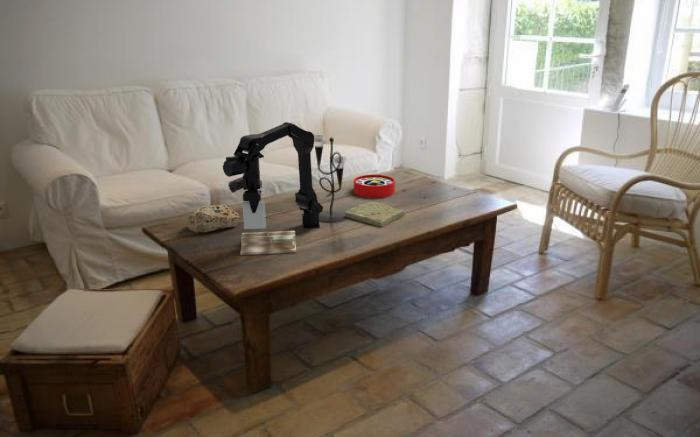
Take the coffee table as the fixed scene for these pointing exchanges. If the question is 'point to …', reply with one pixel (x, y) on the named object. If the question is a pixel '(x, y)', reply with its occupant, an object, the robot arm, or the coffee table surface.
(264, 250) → the rack
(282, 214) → the coffee table surface
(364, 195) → the toy clock
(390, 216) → the decorative tile
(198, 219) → the rock
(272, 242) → the offcut stack
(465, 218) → the coffee table surface
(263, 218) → the sheet
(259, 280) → the coffee table surface
